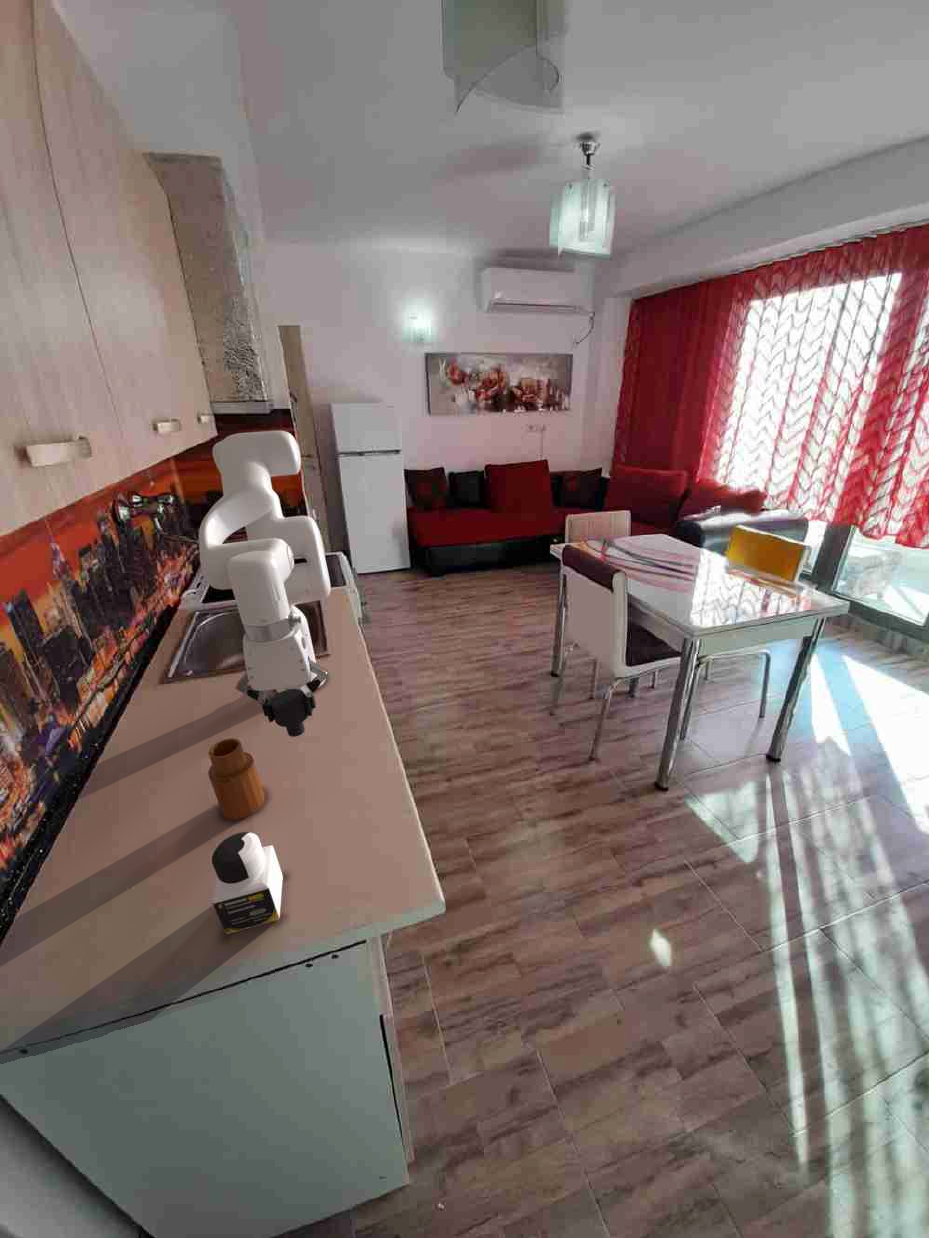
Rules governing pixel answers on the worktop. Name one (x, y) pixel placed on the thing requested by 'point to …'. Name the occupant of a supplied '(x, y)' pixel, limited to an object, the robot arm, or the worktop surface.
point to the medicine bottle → (246, 883)
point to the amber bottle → (235, 779)
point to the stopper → (290, 711)
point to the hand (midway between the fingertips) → (291, 713)
